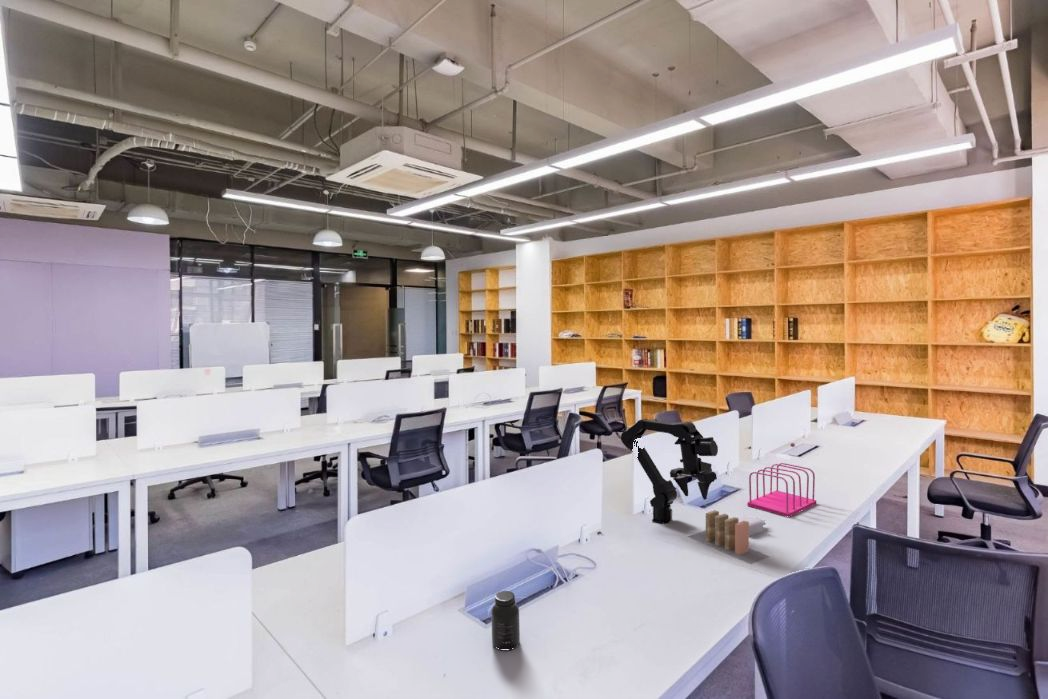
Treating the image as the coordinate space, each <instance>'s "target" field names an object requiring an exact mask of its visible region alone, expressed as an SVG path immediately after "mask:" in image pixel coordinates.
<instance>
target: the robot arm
mask: <svg viewBox="0 0 1048 699" xmlns="http://www.w3.org/2000/svg"><path fill="white" fill-rule="evenodd" d="M647 431H650V432H656V433H657V432H658V433H666V434H668V435H669V434H670V435H671V436H673V437H675V438H677V439H676V441H675V442H674V445H680V446H679V447H680V453H681V459H679V462H680V463H682V466H683V467H677V468H673V469H671V470H670V471H669V477H670V478H672V479H673V481H675V483H676V484H677V485H678V487H679V488H680V490H681V492H682V493H683V495H684V496H685V497H689V488H688V480H689V478H696V479H697V480H698V481H697V482H696V483H697V485H698V488H699V491H700V494H701V497H702V499H703V500H704V501H705V500H707V497H708V495H709V494H708V492H709V488H710V485H711V484H712V483H713V482H715V480H718V478H717V477H718V476H717V473H716V472H715V471H712V463H709V462H705V461H702V459H701V457H717V455H718V451H719V449H718V448H719V447H718V444H717V442H716V441H715V440H714V437H713V436H710V437H704V436H703V435H702V433H700V431H699V430H698V429H697V428H696V425H695V423H694V422H691V421H680V422H669V421H668V422H667V421H662V420H656V419H655V420H654V419H648V418H642V419H639V420H637V422H635V423H634V424H633V425H632V426H631V427H629V428H628V429H626V430H624V431H623V432H622V433H621V435H620V441H621V443H622V444H623V446H625V447H626V449H628V450H629V451H631V452H632V453H633V451H632V449H633V442H634V444H635V442H636V440H635V439H637V438H641V437H642V438H643V435H645V433H646V432H647ZM634 440H635V441H634ZM637 443H638V441H637V442H636V447H637ZM634 446H635V445H634ZM638 452H639V453H638V457H637V458H638V459H637V458H636V459H637V460H638V461H637V462H639V465H640V466H641V468H642V469H643V471H644V472H645V474H646V476H647V478H648V480H649V482H651V484H652V492H653V495H654V497H653V498H651V499H650V500H649V503H650V507H652V514H653V515H652V520H651V522H652V521H653V523H659V524H665V525H666V524H669V523H670V522H672V520H673V509H672V505H673V504H674V501H675V500H677V497H678V492H677V487H675V485H674V483H673V481H672V480H671V479H669V480H666V479H665V478H664V476H663V475H662V474H661V472H660V471H659V469H658V467H657V466H656V464H655V462H654V461H653V459H652V458H651V456H650V455H649V453H648V451H647V449H646V448H645V447H644V448H643V449H641V448H639V446H638Z"/></svg>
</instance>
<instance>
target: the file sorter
mask: <svg viewBox="0 0 1048 699" xmlns="http://www.w3.org/2000/svg"><path fill="white" fill-rule="evenodd" d="M775 466H776V467H775ZM779 467H782V468H779ZM784 468H788V469H793V470H788V469H784ZM767 469H770V470H767ZM773 470H775V471H773ZM794 470H797V471H802V472H804V473H805V474H806V497H805V496H802V482H801V481H802V479H801V476H800V474H799V473H798V472H797V471H794ZM806 470H807V471H806ZM779 471H782V473H781V472H779ZM808 471H809V472H811V474H812V498H809V482H810V477H809V476H810V475H809V473H808ZM783 472H789V473H793V474H796V475H797V477H798V484H799V485H798V486H799V487H798V488H799V495H797V494H796V486H795V485H796V482H795V478H794V477H793V476H792V475H790V474H787V473H783ZM769 473H770V474H769ZM753 474H756V475H755V476H756V478H755V479H756V498H754V499H752V475H753ZM773 474H776V475H773ZM759 475H762V491H763V494H762V495H761V496H760V497H759ZM779 475H782V476H785V477H789V478H790V479H791V480H792V492H793V494H792V493H789V487H788V486H789V484H788V481H787V480H786V478H784V477H782V476H779ZM765 476H768V477H770V482H769V483H770V485H769V486H770V489H769V491H770V492H769V493H767V494H766V485H765V483H766V481H765ZM773 478H776V490H774V491H773ZM779 479H781V480H783V481H784V482H785V488H786V489H785V490H786V491H785V492H784V491H780V490H779ZM815 479H816V477H815V472H814V471H813V470H812V469H811V468H809V467H805V466H800V465H794V464H791V463H786V462H785V463H783V462H781V463H775V464H772V465H771V466H765V467H764V468H763V469H758V470H757V471H753V472H751V473H750V474H749V478H748V484H749V486H748V488H749V489H748V490H749V493H748V494H749V501H747V507H750V506H751V507H750V508H754V507H755V508H754V509H757V508H758V510H761V509H762V510H761V511H764V510H765V512H768V511H769V512H768V513H771V512H773V513H772V514H775V513H777V514H776V515H778V514H780V515H779V516H781V515H784V516H783V517H785V516H788V517H787V518H790V517H789V516H791V515H793V514H795V513H797V512H799V511H801V510H803V511H805V510H807V509H808V507H809V508H811V507H813V506H815V505H817V500H816V499H815V482H816V481H815ZM814 504H815V505H814ZM812 505H813V506H812ZM810 506H811V507H810ZM806 508H807V509H806ZM804 509H805V510H804ZM801 512H802V511H801ZM799 513H800V512H799ZM797 514H798V513H797ZM795 515H796V514H795ZM793 516H794V515H793ZM791 517H792V516H791Z"/></svg>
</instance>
